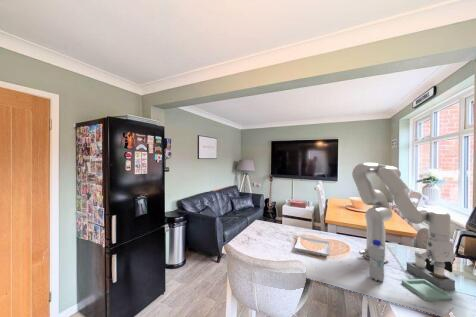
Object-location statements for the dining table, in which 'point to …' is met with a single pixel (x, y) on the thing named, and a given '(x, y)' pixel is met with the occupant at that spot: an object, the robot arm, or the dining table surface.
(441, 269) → the fuse
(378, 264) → the bottle
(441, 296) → the tray
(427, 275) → the block
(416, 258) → the cylinder
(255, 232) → the dining table surface
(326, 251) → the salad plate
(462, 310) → the dining table surface
